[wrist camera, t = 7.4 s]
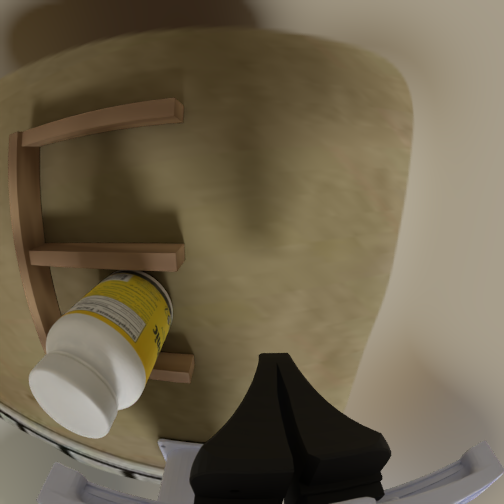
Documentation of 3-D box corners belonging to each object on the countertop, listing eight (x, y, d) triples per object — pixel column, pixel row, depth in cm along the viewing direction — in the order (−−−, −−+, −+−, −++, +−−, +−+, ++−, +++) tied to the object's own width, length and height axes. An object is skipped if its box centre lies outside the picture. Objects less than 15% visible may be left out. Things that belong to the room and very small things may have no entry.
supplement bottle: (154, 351, 18) (106, 460, 9) (92, 309, 17) (14, 395, 8) (190, 298, 17) (142, 417, 7) (120, 249, 16) (17, 325, 6)
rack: (195, 365, 18) (189, 388, 16) (62, 345, 18) (48, 361, 16) (183, 106, 14) (172, 95, 11) (31, 135, 13) (9, 134, 11)
